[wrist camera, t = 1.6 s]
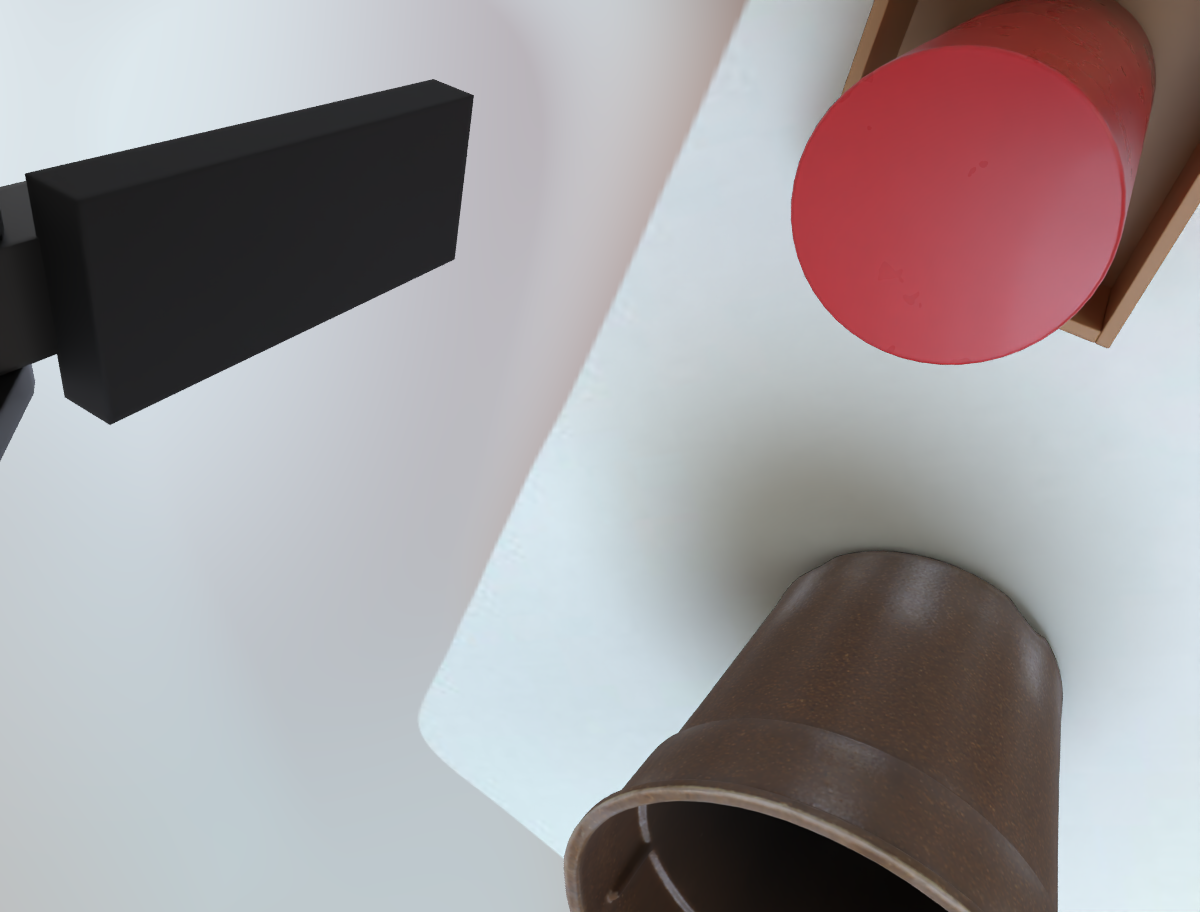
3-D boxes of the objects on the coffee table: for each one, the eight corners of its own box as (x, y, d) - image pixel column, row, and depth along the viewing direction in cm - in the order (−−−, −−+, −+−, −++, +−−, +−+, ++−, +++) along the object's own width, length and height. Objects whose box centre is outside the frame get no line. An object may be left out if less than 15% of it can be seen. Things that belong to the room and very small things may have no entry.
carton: (956, -132, 27) (921, -136, 23) (1322, -35, 24) (1341, -24, 20) (836, 190, 32) (795, 223, 29) (1118, 298, 30) (1108, 349, 26)
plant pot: (1119, 850, 39) (1083, 1271, 27) (762, 767, 48) (615, 1060, 36) (1128, 522, 33) (1085, 885, 21) (712, 493, 41) (511, 739, 29)
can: (988, -41, 27) (853, 0, 16) (1202, 22, 25) (1203, 112, 15) (906, 159, 30) (752, 296, 20) (1089, 226, 29) (1024, 414, 18)
